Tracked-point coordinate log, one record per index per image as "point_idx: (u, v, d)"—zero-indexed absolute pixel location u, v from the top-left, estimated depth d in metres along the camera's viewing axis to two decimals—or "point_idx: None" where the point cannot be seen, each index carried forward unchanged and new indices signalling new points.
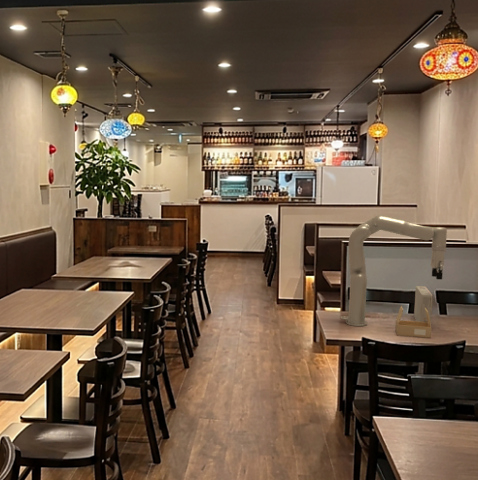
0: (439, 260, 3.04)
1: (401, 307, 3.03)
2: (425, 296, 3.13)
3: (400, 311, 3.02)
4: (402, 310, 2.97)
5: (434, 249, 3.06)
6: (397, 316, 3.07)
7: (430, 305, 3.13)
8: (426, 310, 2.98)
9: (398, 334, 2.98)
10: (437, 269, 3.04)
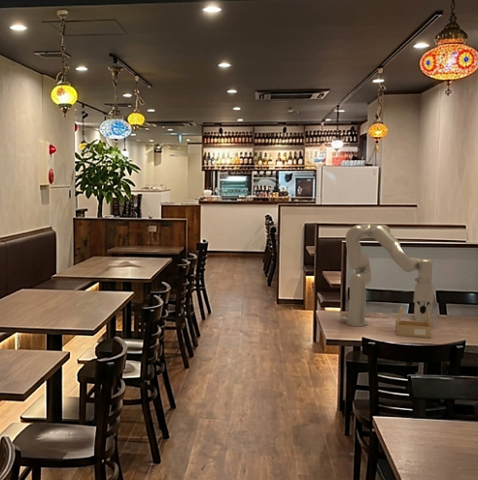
0: None
1: (401, 307, 3.03)
2: None
3: (400, 311, 3.02)
4: (402, 310, 2.97)
5: (429, 282, 2.95)
6: (397, 316, 3.07)
7: (430, 305, 3.13)
8: (426, 310, 2.98)
9: (398, 334, 2.98)
10: (426, 304, 2.98)
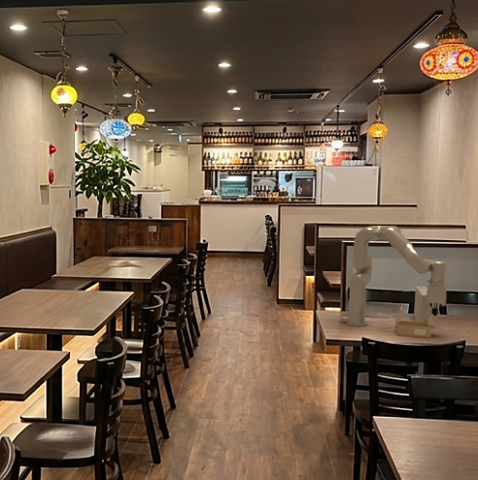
0: None
1: (401, 307, 3.03)
2: (425, 296, 3.13)
3: (400, 311, 3.02)
4: (402, 310, 2.97)
5: (442, 284, 2.94)
6: (397, 316, 3.07)
7: None
8: (438, 312, 2.97)
9: (398, 334, 2.98)
10: (439, 306, 2.97)
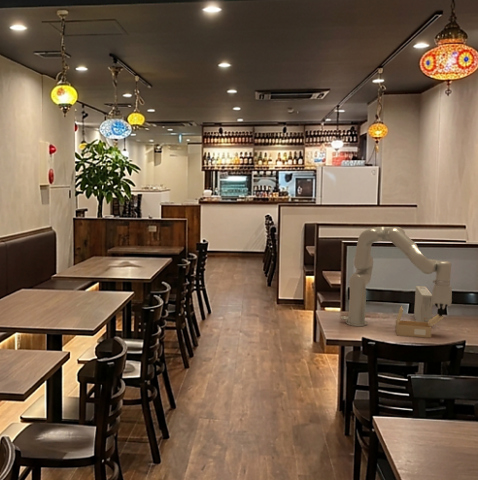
0: None
1: (401, 307, 3.03)
2: (425, 296, 3.13)
3: (400, 311, 3.02)
4: (402, 310, 2.97)
5: (447, 285, 2.93)
6: (397, 316, 3.07)
7: (430, 305, 3.13)
8: (442, 316, 2.96)
9: (398, 334, 2.98)
10: (444, 306, 2.96)
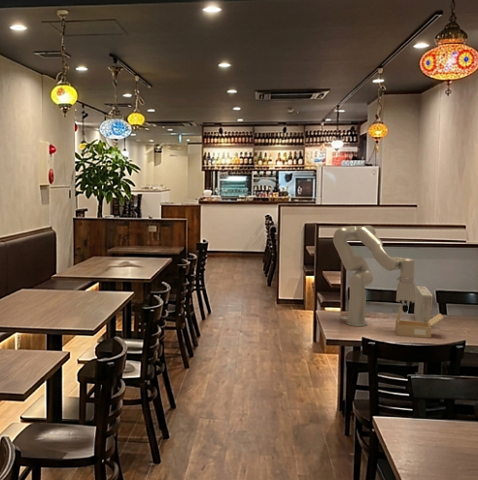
0: None
1: (400, 307, 3.03)
2: (425, 296, 3.13)
3: (399, 311, 3.02)
4: (401, 310, 2.97)
5: (411, 281, 2.97)
6: (397, 316, 3.07)
7: (430, 305, 3.13)
8: (442, 316, 2.96)
9: (398, 334, 2.98)
10: (409, 303, 3.00)
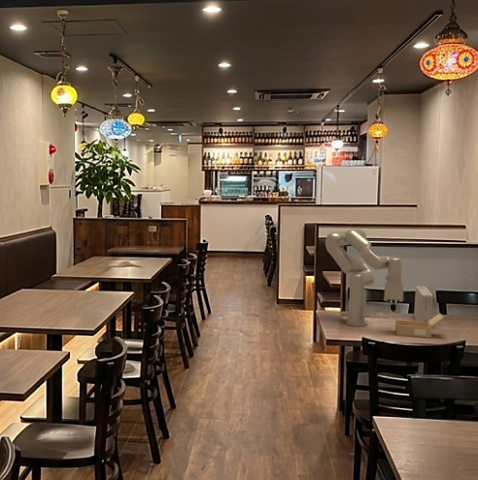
0: None
1: None
2: (425, 296, 3.13)
3: None
4: None
5: (398, 280, 2.98)
6: (394, 317, 3.07)
7: (430, 305, 3.13)
8: (442, 316, 2.96)
9: (398, 334, 2.98)
10: (397, 302, 3.01)
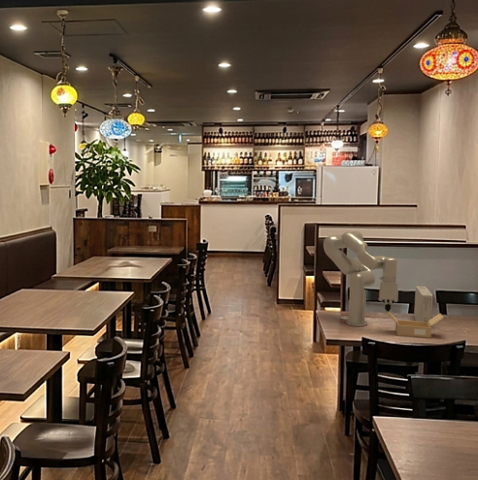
0: None
1: None
2: (425, 296, 3.13)
3: (389, 314, 3.04)
4: None
5: (393, 281, 2.99)
6: (393, 317, 3.08)
7: (430, 305, 3.13)
8: (442, 316, 2.96)
9: (398, 334, 2.98)
10: (391, 302, 3.02)
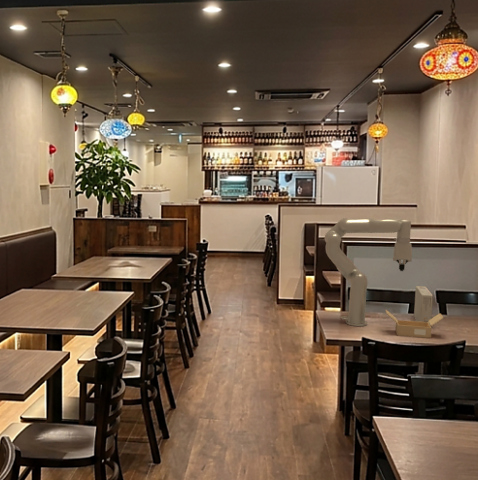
0: None
1: None
2: (425, 296, 3.13)
3: (388, 314, 3.04)
4: (387, 314, 2.99)
5: (407, 241, 3.14)
6: (393, 317, 3.08)
7: (430, 305, 3.13)
8: (442, 316, 2.96)
9: (398, 334, 2.98)
10: (405, 262, 3.17)
